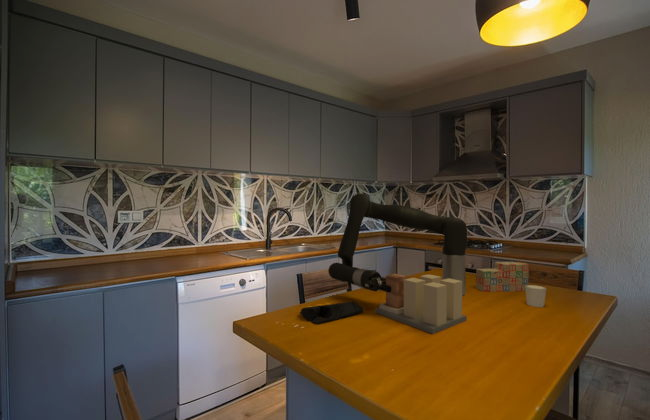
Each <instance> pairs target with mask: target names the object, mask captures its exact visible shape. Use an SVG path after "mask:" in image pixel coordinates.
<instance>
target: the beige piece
mask: <svg viewBox="0 0 650 420" xmlns="http://www.w3.org/2000/svg"><path fill="white" fill-rule="evenodd" d="M525 288H526V291H525V296H526V305H528V306H530V307H536V308H544V307H545V301H546V294H547V287H545V286H542V285H541V286H540V285H535V284H528V285H526V286H525Z"/></svg>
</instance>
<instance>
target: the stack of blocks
mask: <svg viewBox="0 0 650 420" xmlns="http://www.w3.org/2000/svg"><path fill="white" fill-rule="evenodd" d="M529 267H530V264H528V263H525V262H521V261H496V262H494V268H476V270H475V271H476V275H475V277H476V278H475V281H476V282H475V288H476V289H478V290H480V291H482V292H484V293H485V292H526V288H525V286H526V285H529V279H530V270H529V269H530V268H529Z"/></svg>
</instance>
